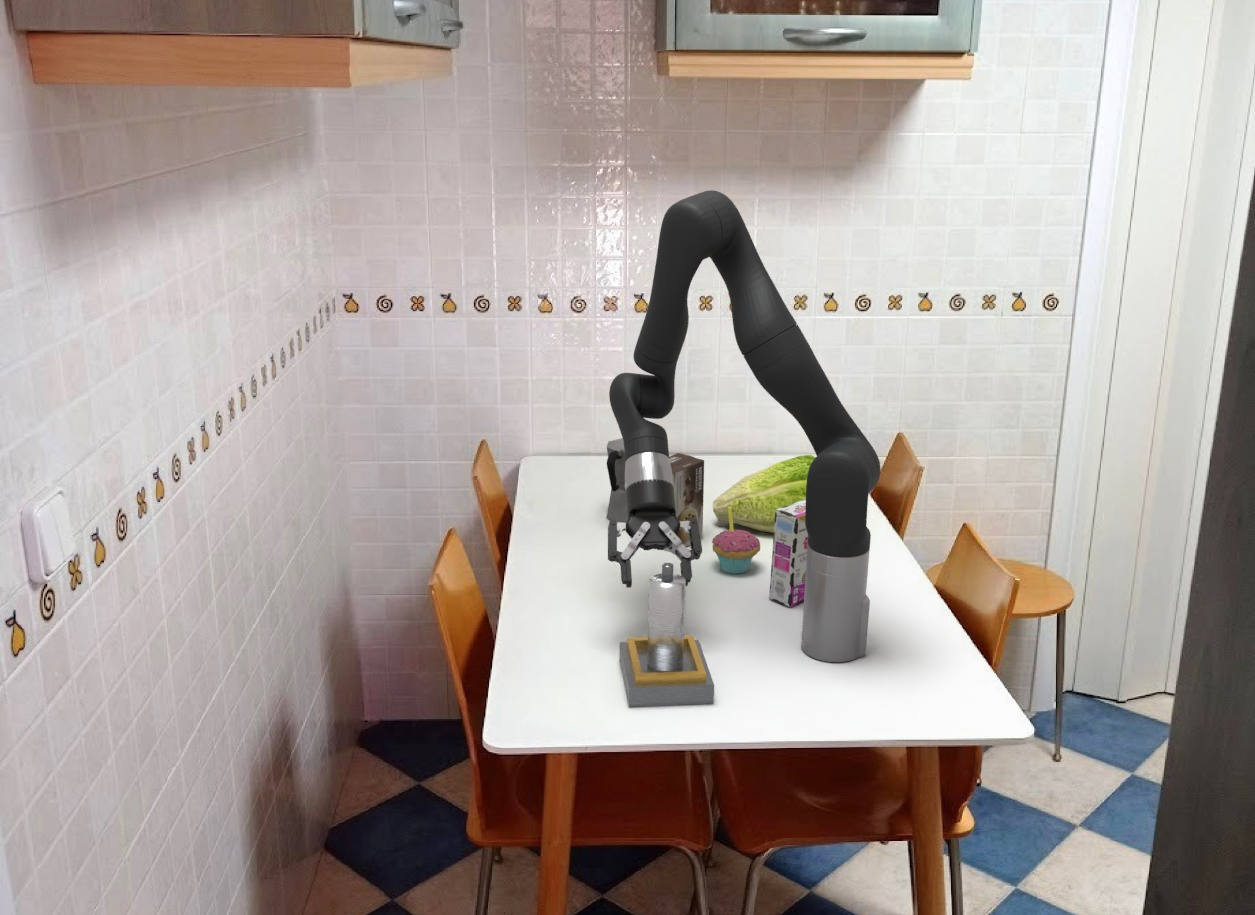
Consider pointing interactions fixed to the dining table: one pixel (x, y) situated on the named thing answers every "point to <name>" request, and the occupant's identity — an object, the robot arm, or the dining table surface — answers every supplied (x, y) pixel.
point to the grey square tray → (665, 676)
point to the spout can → (666, 620)
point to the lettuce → (764, 494)
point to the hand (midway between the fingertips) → (657, 585)
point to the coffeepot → (617, 481)
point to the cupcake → (735, 548)
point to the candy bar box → (789, 555)
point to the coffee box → (688, 491)
